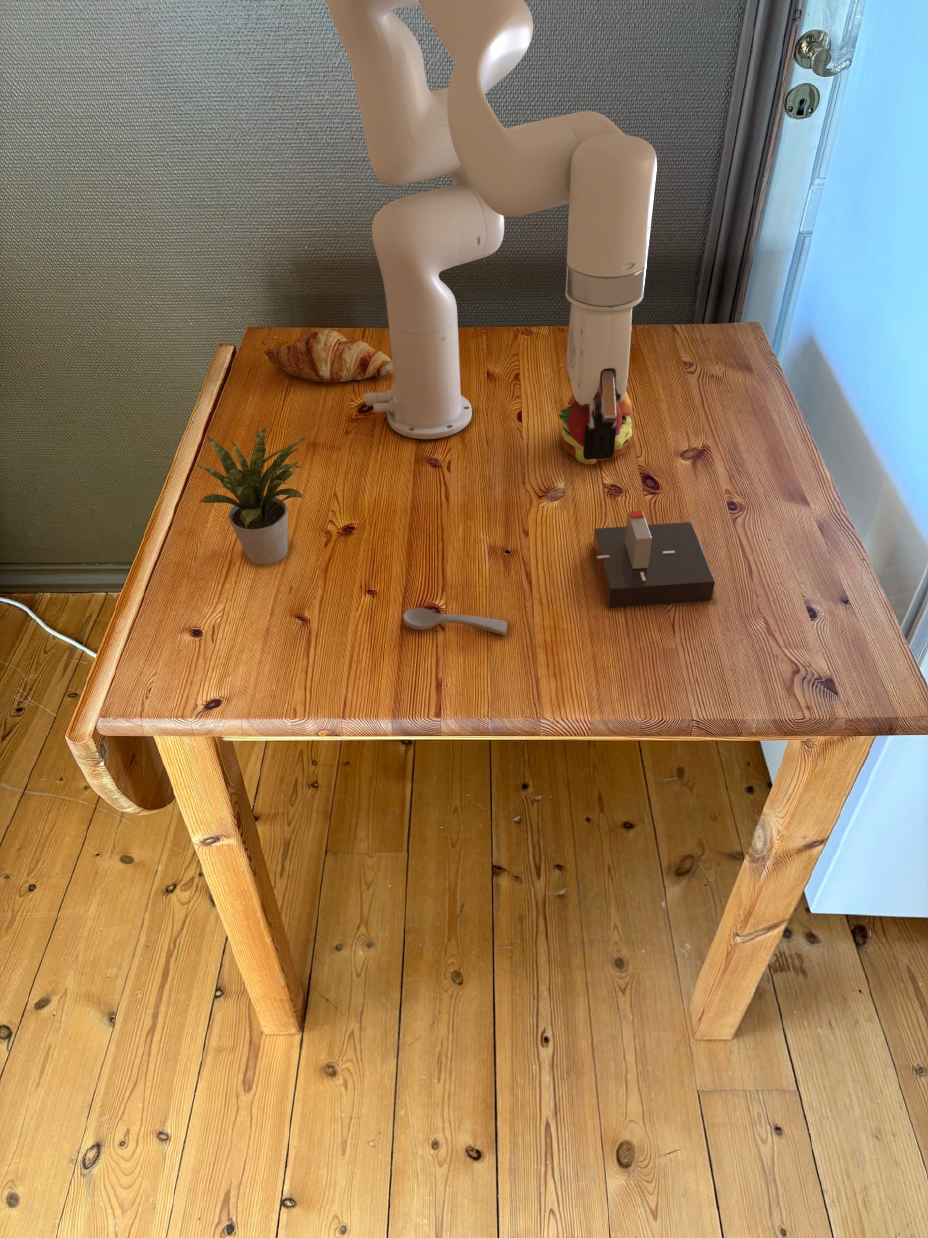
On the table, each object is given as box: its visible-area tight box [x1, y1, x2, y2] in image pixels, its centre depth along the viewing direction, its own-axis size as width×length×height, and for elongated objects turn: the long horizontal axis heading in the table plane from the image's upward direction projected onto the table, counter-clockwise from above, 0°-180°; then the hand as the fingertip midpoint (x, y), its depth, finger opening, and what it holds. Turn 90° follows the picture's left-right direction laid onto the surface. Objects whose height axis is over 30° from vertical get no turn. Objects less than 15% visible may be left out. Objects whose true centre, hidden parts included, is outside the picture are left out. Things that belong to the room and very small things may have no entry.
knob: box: [625, 510, 652, 569], centre depth 108 cm, size 5×2×5 cm, turn 4°
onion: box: [567, 392, 622, 447], centre depth 100 cm, size 6×6×8 cm
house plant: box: [197, 426, 307, 566], centre depth 111 cm, size 14×14×16 cm
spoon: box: [402, 607, 508, 636], centre depth 106 cm, size 3×12×2 cm, turn 82°
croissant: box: [266, 328, 393, 384], centre depth 147 cm, size 21×10×8 cm, turn 80°
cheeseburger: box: [558, 391, 636, 465], centre depth 129 cm, size 10×11×10 cm
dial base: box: [592, 521, 716, 609], centre depth 110 cm, size 13×11×3 cm
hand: (593, 438), depth 101 cm, fingers closed on onion, 6 cm apart
